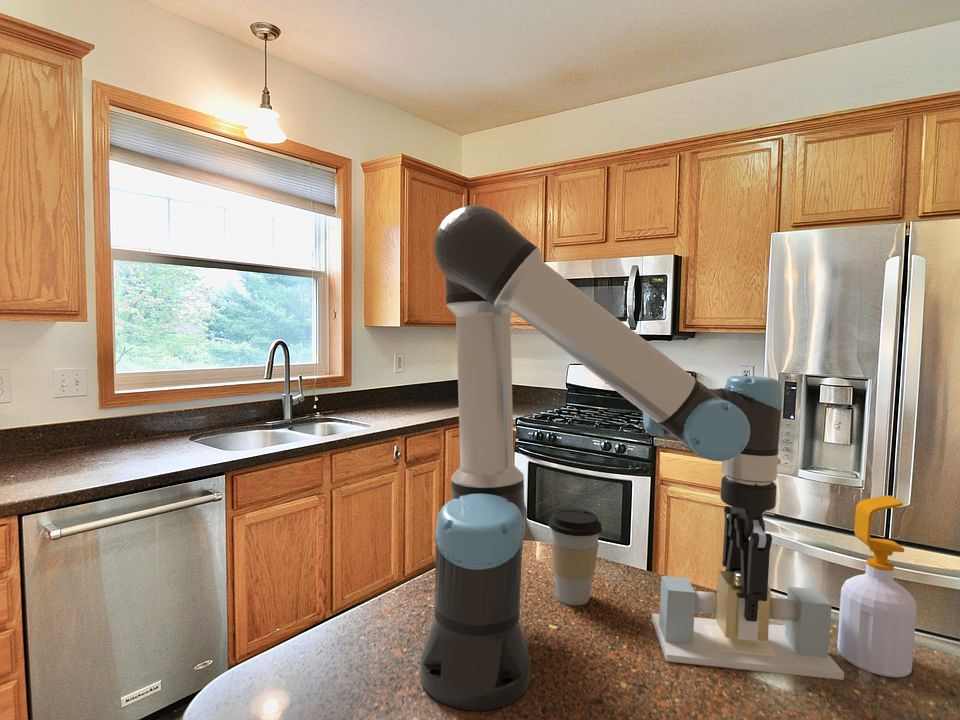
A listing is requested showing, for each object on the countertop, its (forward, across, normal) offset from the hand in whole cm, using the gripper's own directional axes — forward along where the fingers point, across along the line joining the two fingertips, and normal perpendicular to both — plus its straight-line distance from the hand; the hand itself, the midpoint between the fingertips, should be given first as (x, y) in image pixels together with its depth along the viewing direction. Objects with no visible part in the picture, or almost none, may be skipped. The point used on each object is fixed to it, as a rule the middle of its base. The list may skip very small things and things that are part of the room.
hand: (740, 628), depth 85 cm
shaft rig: (+3, 0, 0) cm, 3 cm away
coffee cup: (+3, +11, +25) cm, 27 cm away
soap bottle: (+3, 0, -19) cm, 19 cm away
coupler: (0, 0, 0) cm, 0 cm away
